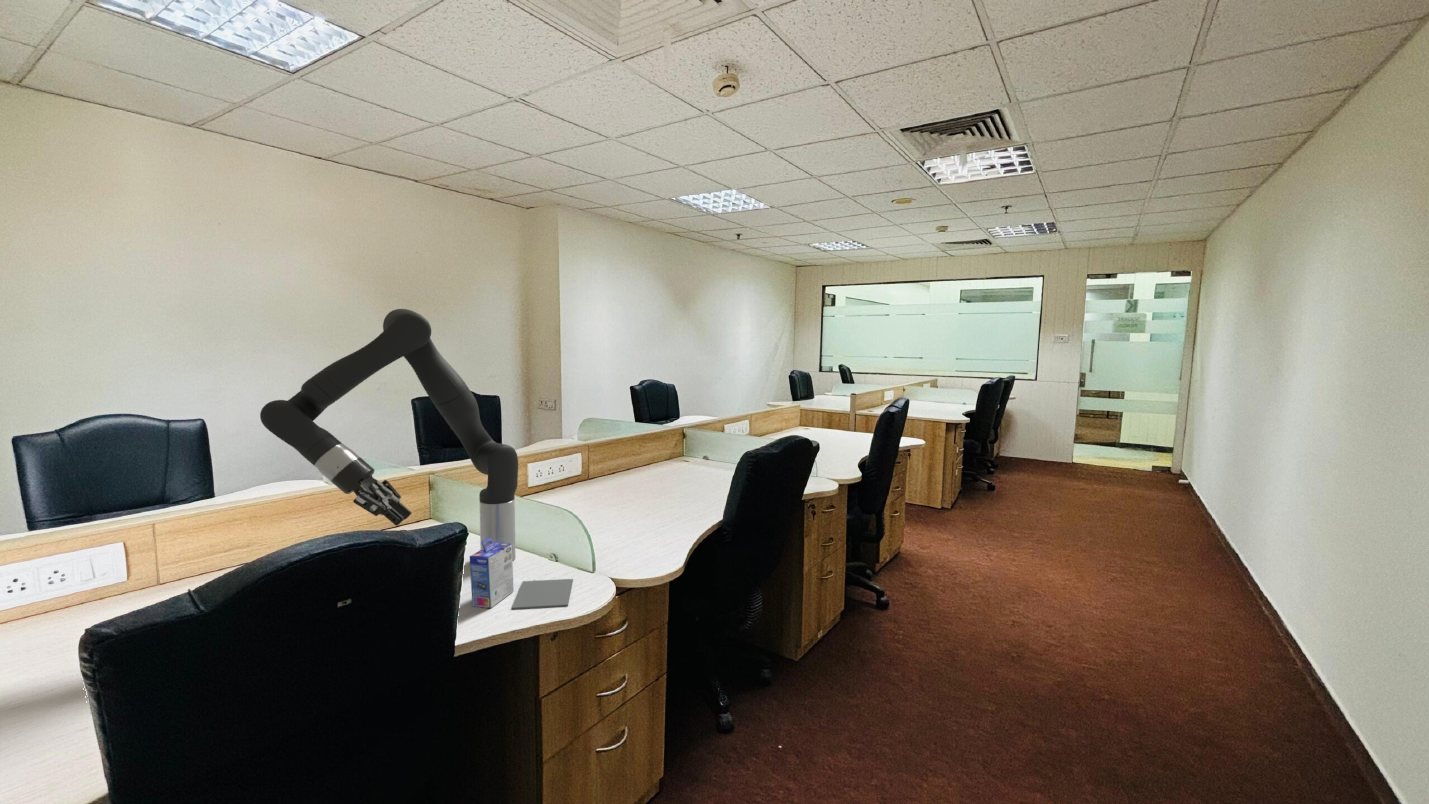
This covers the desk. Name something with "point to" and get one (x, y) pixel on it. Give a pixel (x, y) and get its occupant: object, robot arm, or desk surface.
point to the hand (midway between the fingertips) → (404, 519)
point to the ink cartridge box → (491, 574)
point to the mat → (543, 594)
